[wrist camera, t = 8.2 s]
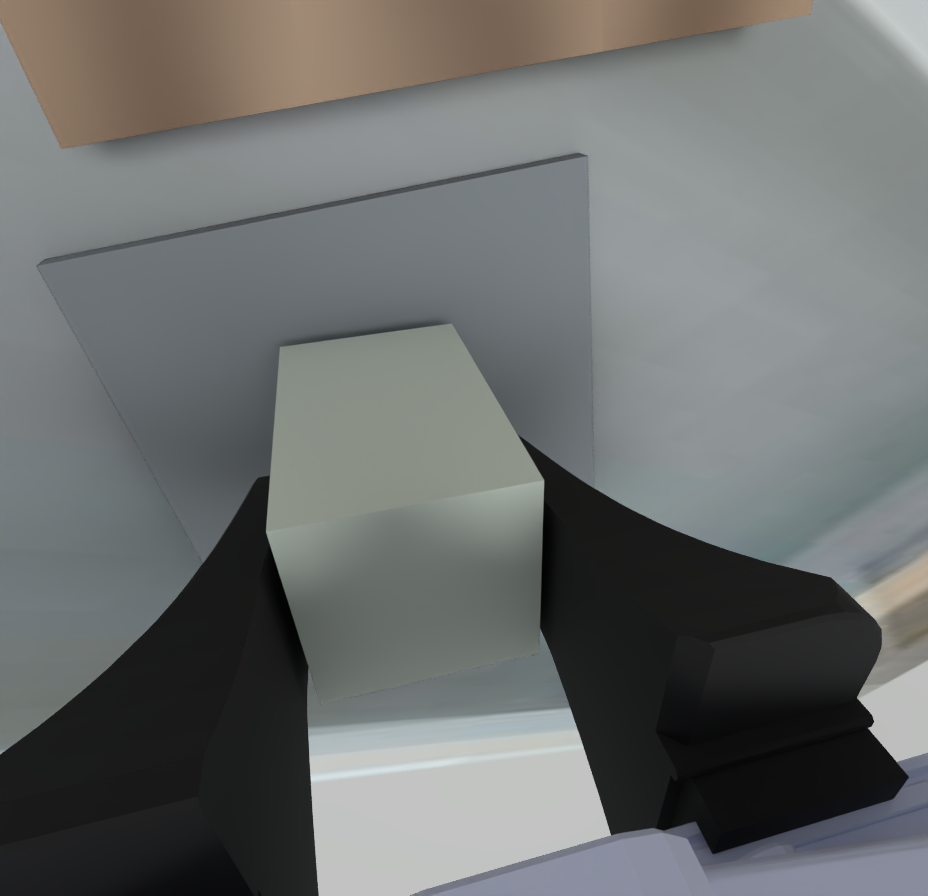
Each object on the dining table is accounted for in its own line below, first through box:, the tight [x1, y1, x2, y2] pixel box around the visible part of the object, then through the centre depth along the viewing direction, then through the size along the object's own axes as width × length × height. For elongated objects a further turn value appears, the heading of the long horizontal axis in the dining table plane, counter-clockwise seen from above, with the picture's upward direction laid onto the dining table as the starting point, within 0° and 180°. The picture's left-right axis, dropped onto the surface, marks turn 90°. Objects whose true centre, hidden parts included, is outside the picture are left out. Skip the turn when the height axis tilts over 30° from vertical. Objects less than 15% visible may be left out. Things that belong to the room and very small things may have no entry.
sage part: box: [266, 323, 544, 705], centre depth 12 cm, size 4×4×6 cm
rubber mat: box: [36, 153, 594, 563], centre depth 16 cm, size 12×10×1 cm
